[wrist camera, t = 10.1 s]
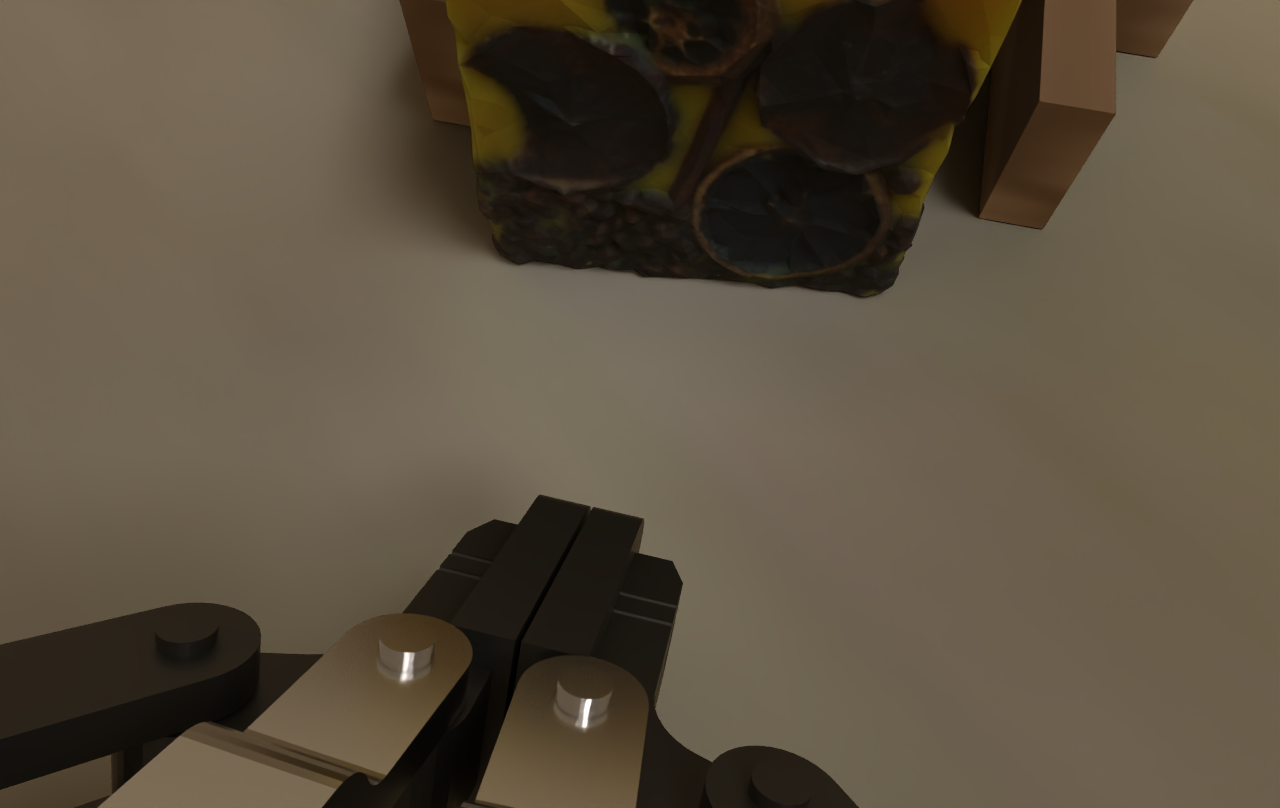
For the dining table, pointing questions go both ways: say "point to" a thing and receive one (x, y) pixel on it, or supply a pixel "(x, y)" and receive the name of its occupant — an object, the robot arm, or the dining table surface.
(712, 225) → the candle
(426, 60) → the brown rectangular block structure
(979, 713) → the dining table surface
